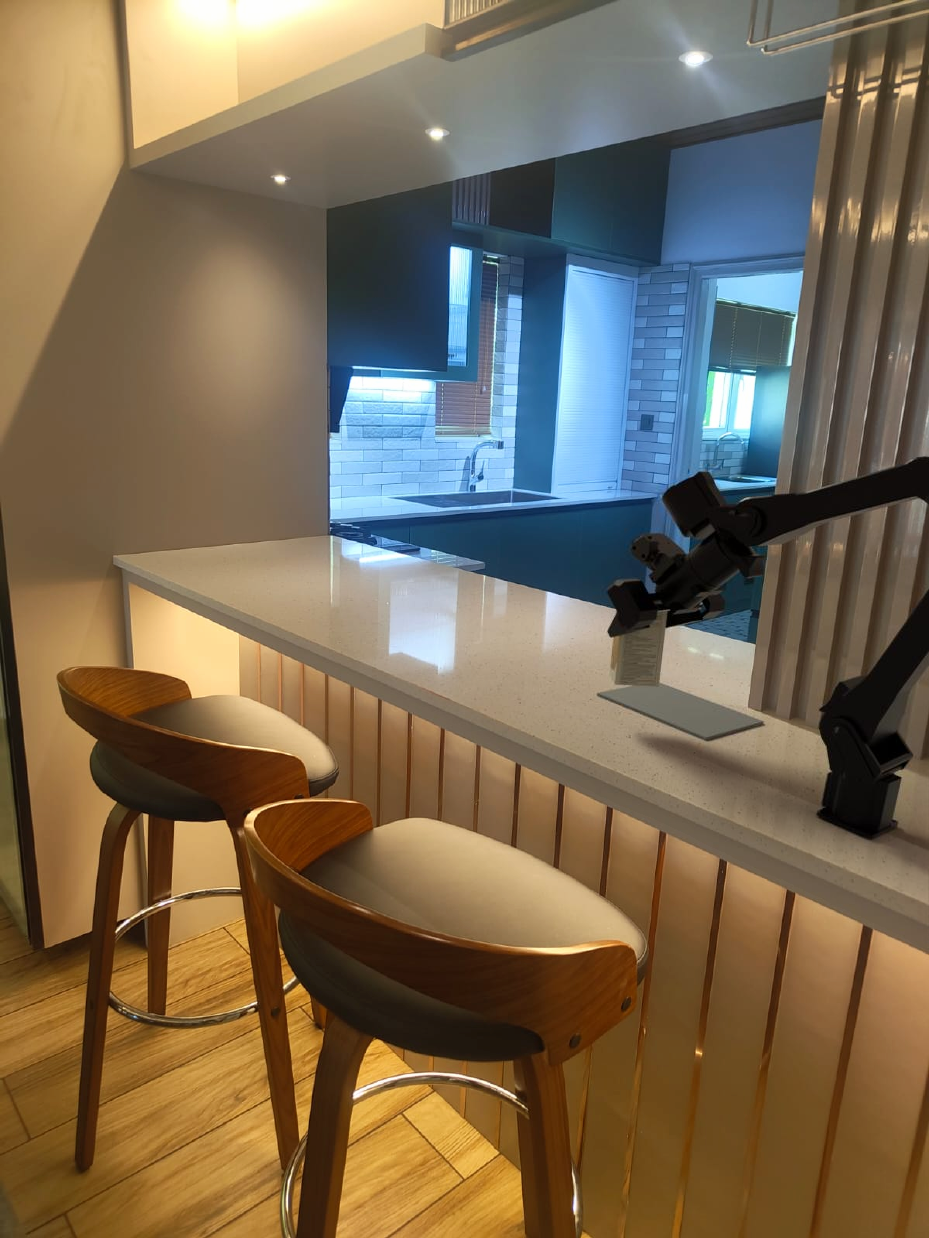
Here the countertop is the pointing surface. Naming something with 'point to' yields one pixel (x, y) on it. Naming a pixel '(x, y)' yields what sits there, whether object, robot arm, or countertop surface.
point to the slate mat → (681, 710)
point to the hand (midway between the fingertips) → (627, 631)
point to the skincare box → (639, 655)
